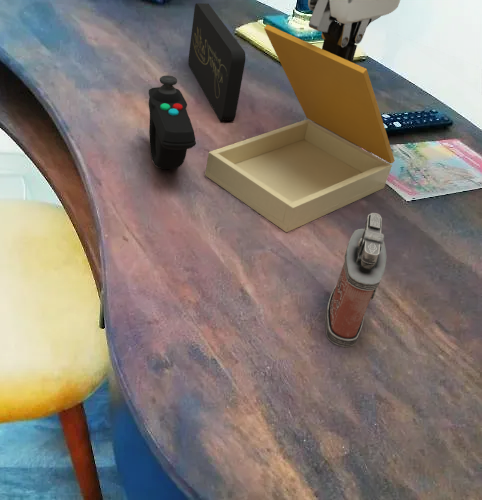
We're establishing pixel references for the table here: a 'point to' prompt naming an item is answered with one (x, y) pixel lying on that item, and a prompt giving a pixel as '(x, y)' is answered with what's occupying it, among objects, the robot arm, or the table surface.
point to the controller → (169, 125)
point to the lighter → (356, 283)
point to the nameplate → (216, 61)
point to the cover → (333, 92)
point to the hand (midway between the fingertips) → (331, 76)
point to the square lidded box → (296, 173)
